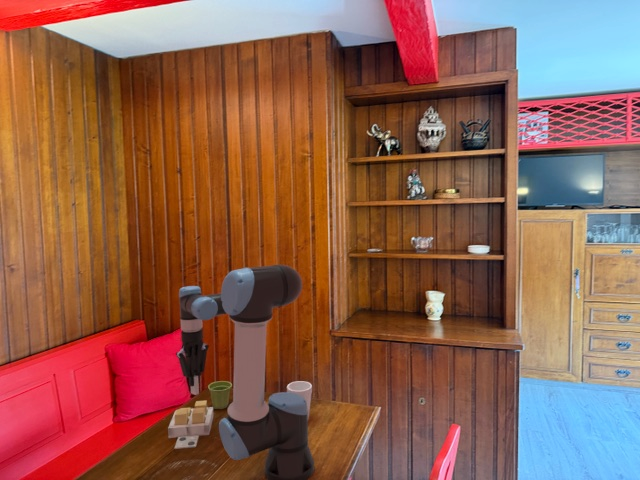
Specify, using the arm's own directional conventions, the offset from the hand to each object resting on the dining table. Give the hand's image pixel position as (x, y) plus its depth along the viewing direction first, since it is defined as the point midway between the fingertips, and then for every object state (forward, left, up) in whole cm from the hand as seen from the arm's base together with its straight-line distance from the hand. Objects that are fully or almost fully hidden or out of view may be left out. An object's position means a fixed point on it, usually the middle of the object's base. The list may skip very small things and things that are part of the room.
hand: (194, 393), depth 157 cm
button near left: (-1, +5, -10) cm, 11 cm away
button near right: (-1, -1, -10) cm, 10 cm away
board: (+2, +2, -13) cm, 14 cm away
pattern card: (-9, +2, -13) cm, 16 cm away
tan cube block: (+5, +5, -13) cm, 14 cm away
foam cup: (+1, -38, -14) cm, 41 cm away
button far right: (+5, -1, -10) cm, 11 cm away
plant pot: (+17, -7, -14) cm, 23 cm away
